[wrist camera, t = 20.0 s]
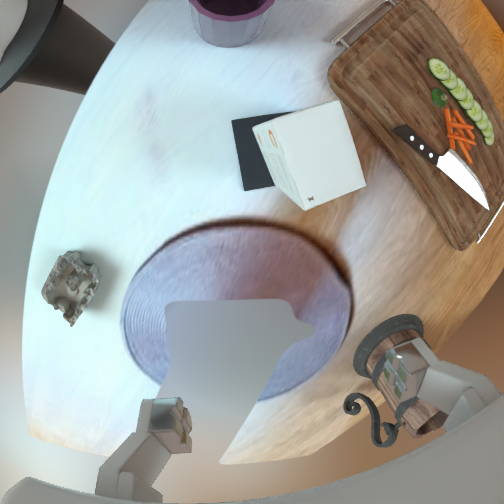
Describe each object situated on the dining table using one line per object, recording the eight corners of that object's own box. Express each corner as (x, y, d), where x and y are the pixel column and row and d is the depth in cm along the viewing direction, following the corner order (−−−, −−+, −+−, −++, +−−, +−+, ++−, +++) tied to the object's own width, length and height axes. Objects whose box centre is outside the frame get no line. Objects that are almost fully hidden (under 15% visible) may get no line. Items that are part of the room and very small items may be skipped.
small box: (319, 169, 35) (368, 187, 23) (274, 186, 35) (303, 213, 23) (298, 109, 32) (340, 98, 20) (250, 126, 32) (268, 120, 20)
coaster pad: (244, 190, 35) (244, 191, 35) (231, 120, 32) (231, 120, 31) (333, 175, 36) (335, 176, 35) (325, 109, 32) (326, 108, 32)
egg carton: (80, 315, 40) (71, 330, 36) (47, 287, 37) (35, 300, 34) (109, 274, 38) (99, 288, 34) (71, 241, 35) (58, 253, 31)
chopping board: (518, 171, 38) (528, 174, 35) (460, 262, 44) (470, 269, 42) (401, -17, 23) (411, -23, 21) (304, 65, 30) (311, 59, 27)
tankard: (398, 300, 46) (463, 374, 27) (434, 331, 51) (485, 391, 32) (313, 385, 52) (343, 469, 33) (361, 401, 57) (392, 468, 38)
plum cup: (199, 53, 28) (193, 28, 20) (190, 0, 24) (183, -33, 16) (268, 43, 28) (283, 17, 20) (256, -8, 25) (267, -42, 16)
